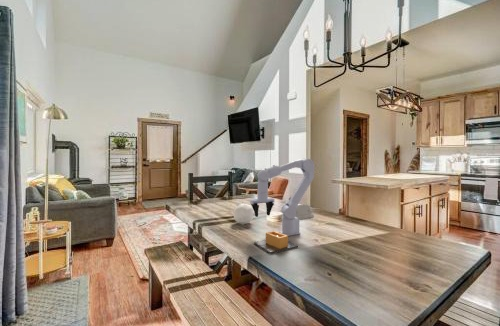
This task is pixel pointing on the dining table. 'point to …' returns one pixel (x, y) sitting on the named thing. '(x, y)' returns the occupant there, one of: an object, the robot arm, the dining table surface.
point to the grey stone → (303, 212)
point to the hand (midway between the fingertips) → (262, 215)
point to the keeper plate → (272, 249)
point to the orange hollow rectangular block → (277, 239)
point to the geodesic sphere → (243, 213)
